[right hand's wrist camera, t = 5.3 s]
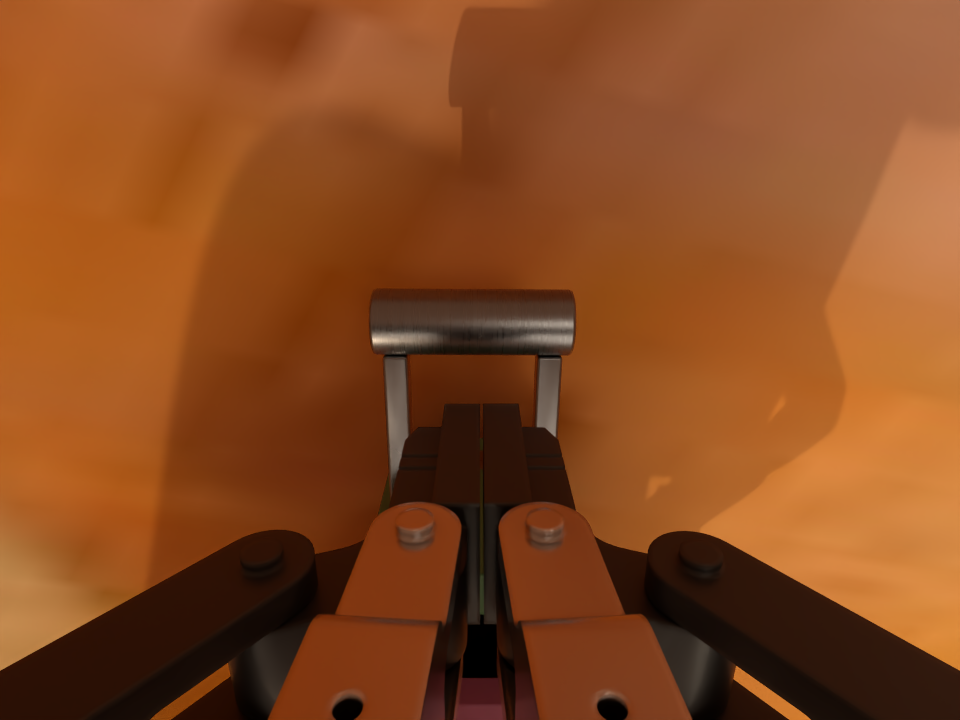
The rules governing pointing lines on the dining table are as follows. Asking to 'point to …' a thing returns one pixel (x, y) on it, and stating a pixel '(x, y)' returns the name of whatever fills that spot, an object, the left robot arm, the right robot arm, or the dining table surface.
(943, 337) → the dining table surface
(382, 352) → the drawer
